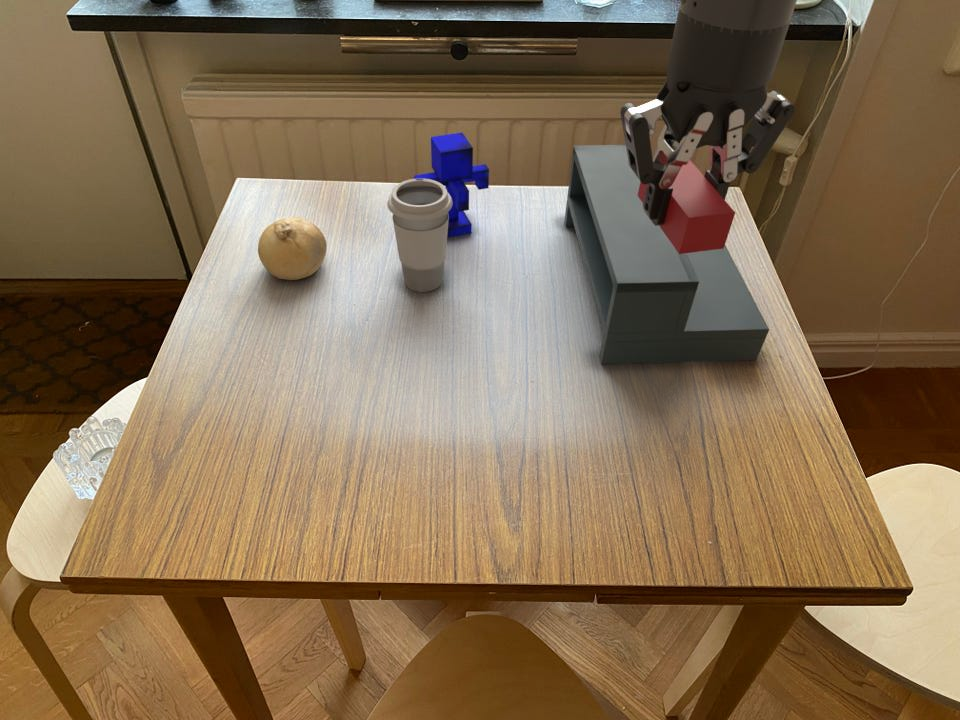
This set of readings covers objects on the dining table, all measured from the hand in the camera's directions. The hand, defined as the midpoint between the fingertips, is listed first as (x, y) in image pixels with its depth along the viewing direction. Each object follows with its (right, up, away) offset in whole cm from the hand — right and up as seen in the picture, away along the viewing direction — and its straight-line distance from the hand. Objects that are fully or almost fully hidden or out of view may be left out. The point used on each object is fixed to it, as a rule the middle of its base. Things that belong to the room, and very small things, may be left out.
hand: (680, 216), depth 61 cm
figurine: (-21, +5, +32) cm, 39 cm away
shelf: (+3, -3, +25) cm, 25 cm away
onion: (-40, -1, +25) cm, 47 cm away
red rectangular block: (0, 0, 0) cm, 0 cm away
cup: (-24, -3, +24) cm, 34 cm away
